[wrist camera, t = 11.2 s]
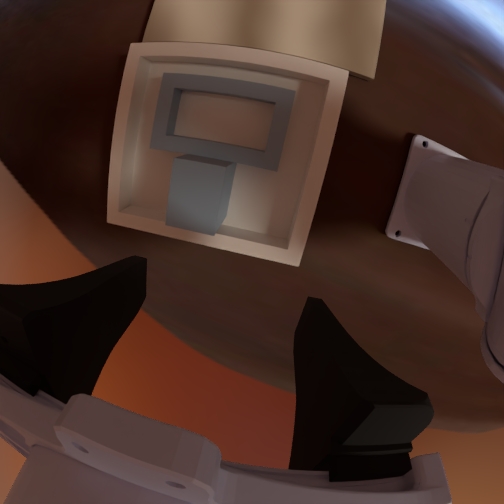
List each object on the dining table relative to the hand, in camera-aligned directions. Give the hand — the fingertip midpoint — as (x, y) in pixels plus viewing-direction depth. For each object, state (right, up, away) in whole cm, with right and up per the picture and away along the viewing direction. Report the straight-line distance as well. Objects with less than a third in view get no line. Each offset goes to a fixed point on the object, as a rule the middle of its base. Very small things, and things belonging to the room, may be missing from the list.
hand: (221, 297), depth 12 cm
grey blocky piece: (-1, +9, +6) cm, 11 cm away
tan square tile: (+3, +22, 0) cm, 22 cm away
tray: (-1, +9, +6) cm, 11 cm away
